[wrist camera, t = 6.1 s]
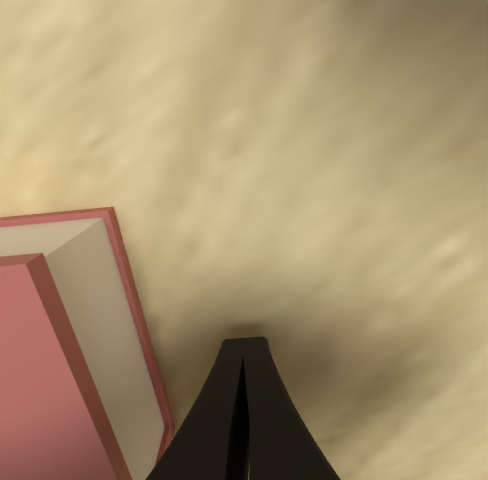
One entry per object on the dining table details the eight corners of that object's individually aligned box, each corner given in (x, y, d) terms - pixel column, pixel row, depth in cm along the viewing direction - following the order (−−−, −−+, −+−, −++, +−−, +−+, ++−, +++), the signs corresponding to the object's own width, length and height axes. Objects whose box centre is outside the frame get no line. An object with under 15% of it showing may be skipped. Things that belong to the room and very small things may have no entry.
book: (175, 425, 13) (146, 547, 9) (22, 434, 13) (-65, 557, 10) (115, 205, 9) (25, 263, 5) (-98, 226, 9) (-317, 294, 6)
